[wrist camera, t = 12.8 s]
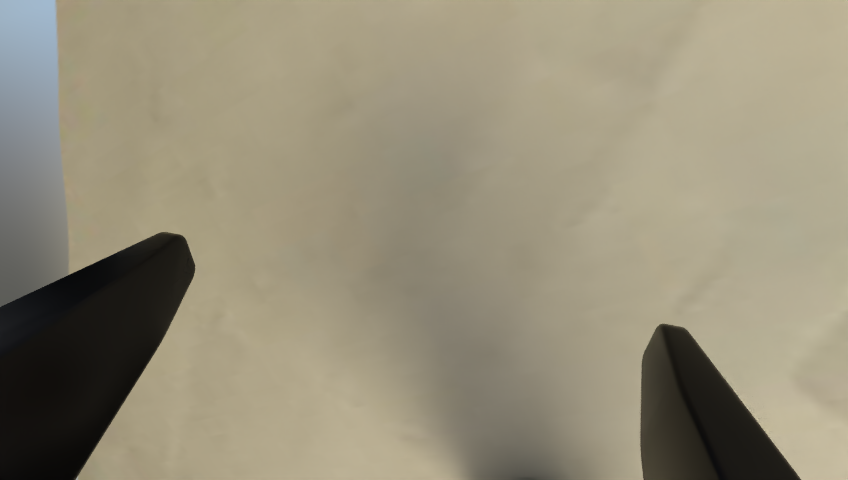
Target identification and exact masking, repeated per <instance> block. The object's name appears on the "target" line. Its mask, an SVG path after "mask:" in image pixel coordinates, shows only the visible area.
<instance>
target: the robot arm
mask: <svg viewBox="0 0 848 480" xmlns="http://www.w3.org/2000/svg"><path fill="white" fill-rule="evenodd" d="M194 273H195V264H194V261H193V258H192V255H191V252H190V249H189V247H188V244H187V241H186V239H185V238H184V237H183V236H182V235H179V234H174V233H168V232H161V233H158V234H156V235H154V236H152V237H150V238H147V239H145V240H143V241H141V242H139V243H137V244H135V245H132V246H130V247H128V248H126V249H124V250H122V251H120V252H117V253H115V254H113V255H111V256H109V257H107V258H104V259H102V260H100V261H98V262H96V263H94V264H92V265H89V266H87V267H85V268H83V269H81V270H79V271H77V272H74V273H72V274H70V275H68V276H66V277H64V278H62V279H60V280H57V281H55V282H53V283H51V284H49V285H47V286H44V287H42V288H40V289H38V290H36V291H34V292H31V293H29V294H27V295H25V296H23V297H21V298H19V299H16V300H15V301H12V302H10V303H8V304H6V305H4V306H1V307H0V480H76V478H77V476H78V475H79V473H80V472H81V470H82V468H83V467H84V465H85V464H86V462H87V460H88V459H89V457H90V456H91V454H92V452H93V451H94V449H95V448H96V446H97V444H98V443H99V441H100V440H101V438H102V436H103V435H104V433H105V432H106V430H107V428H108V427H109V425H110V424H111V422H112V420H113V419H114V417H115V416H116V414H117V412H118V411H119V409H120V408H121V406H122V404H123V403H124V401H125V400H126V398H127V396H128V395H129V393H130V392H131V390H132V388H133V387H134V385H135V384H136V382H137V380H138V379H139V377H140V376H141V374H142V372H143V371H144V369H145V368H146V366H147V364H148V363H149V361H150V360H151V358H152V356H153V355H154V353H155V352H156V350H157V348H158V347H159V345H160V343H161V342H162V340H163V338H164V336H165V334H166V332H167V330H168V328H169V326H170V324H171V322H172V320H173V318H174V316H175V314H176V312H177V310H178V308H179V306H180V304H181V301H182V299H183V297H184V295H185V293H186V291H187V289H188V287H189V285H190V283H191V281H192V279H193V276H194ZM640 446H641V459H642V469H643V478H644V480H801V479H800V477H799V476H798V475H797V473H796V472H795V471H794V470H793V468H792V467H791V466H790V464H789V463H788V462H787V460H786V459H785V458H784V456H783V455H782V454H781V452H780V451H779V450H778V449H777V447H776V446H775V445H774V443H773V442H772V441H771V439H770V438H769V437H768V435H767V434H766V433H765V431H764V430H763V429H762V428H761V426H760V425H759V424H758V422H757V421H756V420H755V418H754V417H753V416H752V414H751V413H750V412H749V410H748V409H747V408H746V406H745V405H744V404H743V403H742V401H741V400H740V399H739V397H738V396H737V395H736V393H735V392H734V391H733V389H732V388H731V387H730V385H729V384H728V383H727V382H726V380H725V379H724V378H723V376H722V375H721V374H720V372H719V371H718V370H717V368H716V367H715V366H714V364H713V363H712V362H711V361H710V359H709V358H708V357H707V355H706V354H705V353H704V351H703V350H702V349H701V347H700V346H699V345H698V343H697V342H696V341H695V340H694V338H693V337H692V336H691V334H690V333H689V332H688V331H687V330H686V329H685V328H683V327H679V326H673V325H668V324H660V325H659V326H658V327H657V328H656V330H655V332H654V334H653V336H652V338H651V340H650V342H649V344H648V346H647V348H646V350H645V352H644V355H643V359H642V378H641V430H640Z"/></svg>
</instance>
